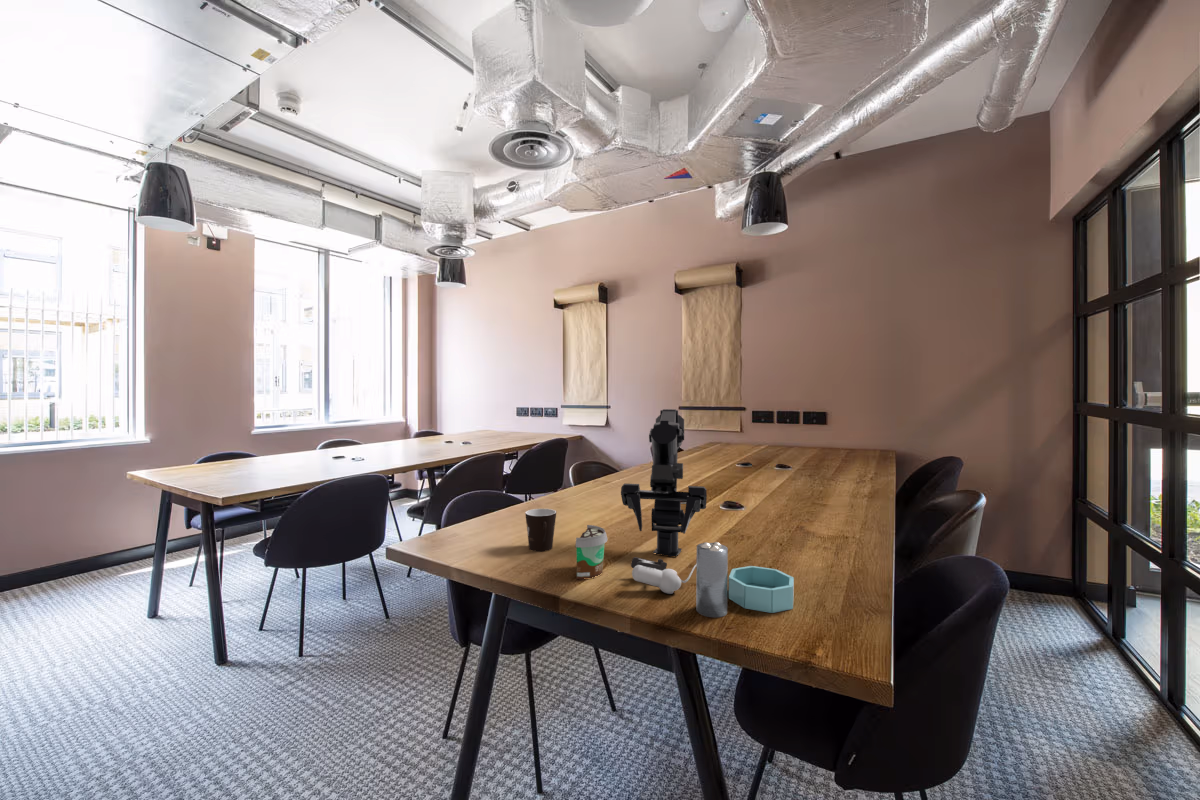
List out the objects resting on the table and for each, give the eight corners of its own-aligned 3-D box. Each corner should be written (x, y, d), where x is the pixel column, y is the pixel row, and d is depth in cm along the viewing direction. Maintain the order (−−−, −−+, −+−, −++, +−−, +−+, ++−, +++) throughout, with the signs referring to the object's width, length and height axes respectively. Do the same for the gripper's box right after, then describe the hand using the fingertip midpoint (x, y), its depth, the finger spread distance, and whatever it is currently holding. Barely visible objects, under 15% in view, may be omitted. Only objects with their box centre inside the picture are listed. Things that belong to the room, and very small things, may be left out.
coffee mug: (530, 542, 140) (530, 508, 140) (559, 544, 139) (559, 509, 139) (517, 555, 129) (517, 518, 129) (549, 557, 128) (549, 519, 127)
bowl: (734, 583, 111) (734, 563, 111) (794, 592, 106) (794, 571, 106) (725, 605, 99) (725, 583, 99) (792, 616, 94) (792, 593, 94)
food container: (601, 584, 110) (602, 540, 110) (575, 581, 111) (575, 538, 111) (611, 565, 122) (611, 525, 122) (587, 563, 123) (587, 524, 123)
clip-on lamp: (704, 591, 113) (629, 571, 115) (710, 564, 114) (635, 545, 116) (712, 608, 102) (628, 586, 103) (718, 578, 102) (635, 556, 104)
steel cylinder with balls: (699, 602, 100) (700, 537, 100) (729, 607, 98) (729, 541, 98) (693, 614, 95) (693, 545, 95) (724, 619, 93) (725, 549, 92)
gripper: (621, 448, 109) (614, 511, 99) (706, 450, 106) (708, 515, 96) (626, 474, 117) (620, 535, 107) (705, 477, 114) (706, 540, 104)
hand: (662, 531), depth 103 cm, fingers open, 9 cm apart
